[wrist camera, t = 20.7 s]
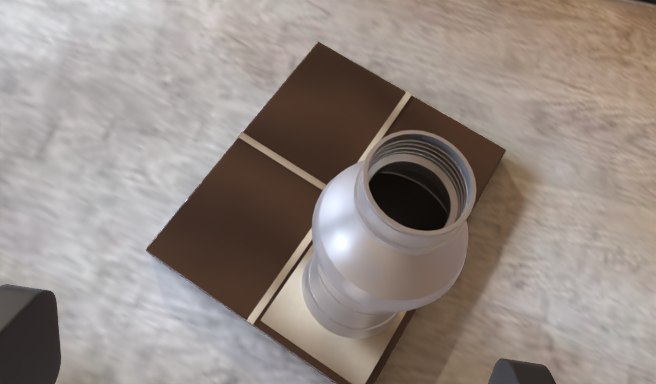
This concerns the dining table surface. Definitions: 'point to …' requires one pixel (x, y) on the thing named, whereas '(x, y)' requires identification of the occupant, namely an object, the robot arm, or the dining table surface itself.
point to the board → (299, 205)
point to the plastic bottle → (389, 234)
